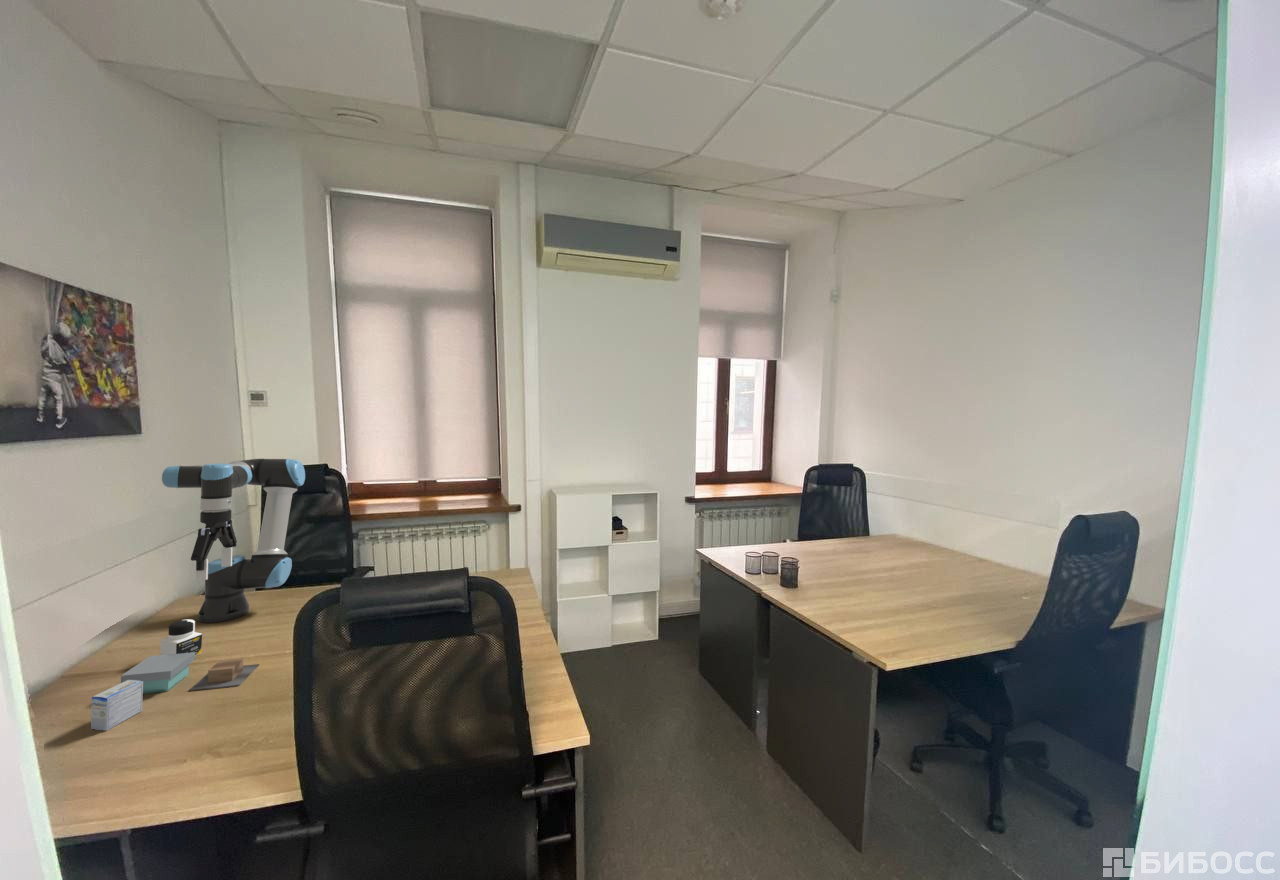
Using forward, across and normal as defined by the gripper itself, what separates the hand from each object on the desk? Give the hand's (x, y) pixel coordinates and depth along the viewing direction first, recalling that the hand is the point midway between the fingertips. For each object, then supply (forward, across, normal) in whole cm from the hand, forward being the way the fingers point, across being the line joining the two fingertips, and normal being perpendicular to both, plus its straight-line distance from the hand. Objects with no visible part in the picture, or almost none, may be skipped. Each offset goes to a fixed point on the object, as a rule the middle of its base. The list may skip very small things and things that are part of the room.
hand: (214, 572), depth 147 cm
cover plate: (+24, -16, +5) cm, 29 cm away
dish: (+28, -16, +5) cm, 33 cm away
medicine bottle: (+29, +1, +9) cm, 30 cm away
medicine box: (+28, -33, +4) cm, 44 cm away
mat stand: (+28, -16, -11) cm, 34 cm away
